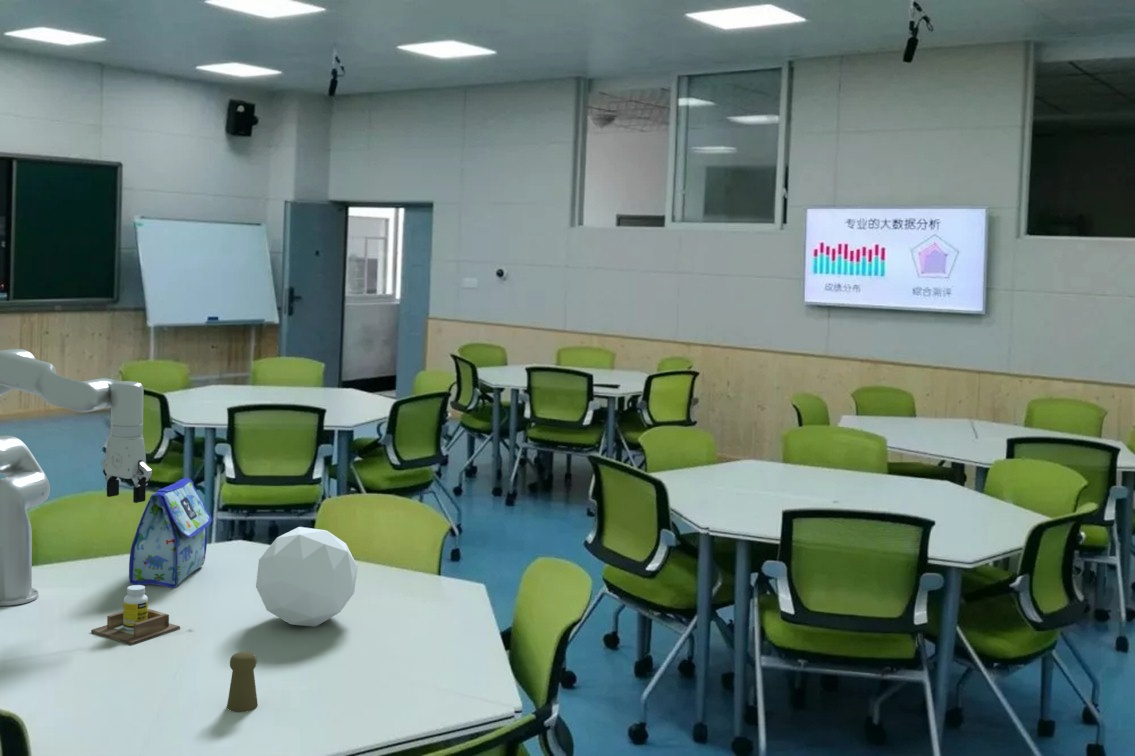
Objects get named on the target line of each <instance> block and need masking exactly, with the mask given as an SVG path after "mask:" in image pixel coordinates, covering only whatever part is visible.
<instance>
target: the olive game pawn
mask: <svg viewBox="0 0 1135 756" xmlns="http://www.w3.org/2000/svg"><path fill="white" fill-rule="evenodd" d="M256 666H257V656H256V655H255V653H253V652H249V651H239V652H236V653H234V654H233V655H232V656H231V657H230V660H229V667H230V669H231V670H232V673H231V679H230V684H229V685H230V687H229V690H228V697H227V704H226V709H227V708H228V709H229V710H228V709H227V710H228V711H230V710H231V711H230V712H232V711H234V712H233V713H247V711H248V712H251V711H254V710H256V709H257V708H258V707H259V705H258V695H257V688H256V686H257V685H256V679H255V671H254V670H255V668H256ZM257 706H258V707H257Z"/></svg>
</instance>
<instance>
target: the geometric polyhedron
mask: <svg viewBox="0 0 1135 756" xmlns="http://www.w3.org/2000/svg"><path fill="white" fill-rule="evenodd" d="M257 565H258V566H257V573H256V582H255V588H256V590H257V592H258V594H259V596H260V598H261V601H262V603H263V605H264V607H265V609H266V611H267V612H268V613H271V614H272V615H273V616H276V617H277V618H279V619H281V620H282V621H284V622H287V624H290V625H292V626H293V625H294V626H295V625H296V626H303V627H304V626H305V627H318V626H319V625H321V624H322V623H324V622H326V621H328V620H329V619H331V618H333V617H335V616H337V615H338V614H339V613H341V612H342V610H343V609H344V608H345V606H346V604H348V602H349V601H350V599H351V598H353V595H354V593H355V590H356V582H357V573H358V564H357V562H356V561H355V558H354V557H353V555H352V553H351V550H350V549H349V546H348V545H347V543H346V542H344V541H343V540H342V539H340V538H338V537H337V536H336V535H334V534H333V533H331V532H330V531H328V529H327V530H326V529H319V528H311V527H304V526H298V527H296V528H294V529H292V530H290V531H288V532H285V533H284V534H281V535H279V536H277V537H276V538H275V540H273V542H272V543H271V544H270V546H269V547H268V548H267V549H266V551H265V552H264V553H263V554H262V556H261V557H260V558H259V559H258V564H257Z"/></svg>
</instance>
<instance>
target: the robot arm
mask: <svg viewBox="0 0 1135 756" xmlns="http://www.w3.org/2000/svg"><path fill="white" fill-rule="evenodd" d="M12 390H17V391H19V392H20V391H21V392H24V393H28V394H32V395H34V396H35V395H36V396H38V397H39V398H41V399H42V400H43V401H45V402H46V403H49V404H50V405H53V406H56V407H59V408H62V409H66V410H70V411H73V412H78V413H89V412H90V413H91V412H94V411H97V410H102V409H106V408H107V409H108V408H110V427H109V429H110V433H109V434H110V435H108V438H107V442H106V447H105V456H104V457H105V458H104V460H102V461H101V462H100V465H101V468H102V473H103V474H104V480H105V481H106V497H108V498H111V497H116V496H119V494H120V479H118V478H121V479H126V480H130V479H131V480H132V482H133V484H134V487H133V489H132V490H133V492H132V493H133V494H132V495H133V496H132V498H133V499H132V500H133V503H135V504H137V503H143V502H145V501H146V493H147V490H146V489H147V487H146V486H148V483H149V482H150V480H151V476H152V474H153V470H152V469H151V468H150V467H149V466H148V465H147V459H146V458H147V457H146V456H147V455H146V447H145V439H144V393H145V392H144V391H145V390H144V386H143V384H142V383H140V381H139V382H138V381H131V380H123V381H122V380H116V379H111V378H107V377H102V378H101V377H100V378H95V379H89V380H85V381H81V380H78V379H77V380H76V379H72V378H69V377H65V376H62V375H59V374H57V370H56V366H55V365H53V364H52V363H50V362H49V361H48V362H47V361H43V360H39V359H37V358H36V357H35V356H34V354H32V353H31V352H30V351H28V350H26V349H22V348H11V349H3V350H0V397H2V396H4V395H6V394H8V393H9V392H11V391H12ZM0 475H3V476H4V477H2V478H0V607H1V606H3V607H4V606H6V607H7V606H16V605H17V606H18V605H21V604H26V603H30V602H32V601H34V600H37V598H39V591H38V590H37V589H36V588H33V587H32V586H33V585H32V584H33V583H32V580H33V578H32V577H33V566H32V564H33V563H32V562H33V561H32V559H33V558H32V555H33V552H32V551H33V549H32V547H33V546H32V545H33V544H32V543H33V540H32V538H33V537H32V536H33V535H32V524H31V521H30V518H29V516H28V513H27V510H29V509H32V508H35V507H37V506H40V505H41V504H43V503H45V501H47V500H48V498H49V496H50V492H51V484H50V481H49V479H48V476H47V475H46V472H45V471H44V470H43V469H42V466H41V465H40V463H39V462H38V461H37V458H35V456H34V455H33V453H32V451H31V450H30V449H29V447H28V446H27V445H26V444H25V442H24V441H22V439H20V438H18V437H16V436H12V435H0Z"/></svg>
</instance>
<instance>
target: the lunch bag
mask: <svg viewBox="0 0 1135 756" xmlns="http://www.w3.org/2000/svg"><path fill="white" fill-rule="evenodd" d="M212 521H213V520H212V516H211V513H210V511H209V509H208V508H207V507H206V505H205V503H204V502H203V500H202V499H201V497H200V495H199V493H198V491H197V489H196V487H195V484H194V481H192V479H190V477H185V478H182V479H179V480H177V481H175V483H172V484H170V485H167V486H165V487H163V488H160V489H158V490H157V491H156V492H154V493H153V494H151V495H150V498H149V499H148V501H147V504H146V505H145V507H144V511H143V513H142V516H141V517H140V520H139V524H138V526H137V528H136V531H135V534H134V537H133V540H132V543H131V548H130V550H129V551H130V552H129V563H128V579H129V584H131V585H155V586H162V587H165V588H166V587H167V588H170V589H174V588H176V587H178V586H179V585H180V584H181V582H183V580H185V579H186V578H187V577H189V576H190V575H191V574H192V573H193V572H194V571H196V570H198V569H200V568H202V567H203V566H204V564H205V561H206V553H207V546H208V544H207V543H208V533H207V532H208V530H207V528H208V526H210V524H212Z"/></svg>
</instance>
